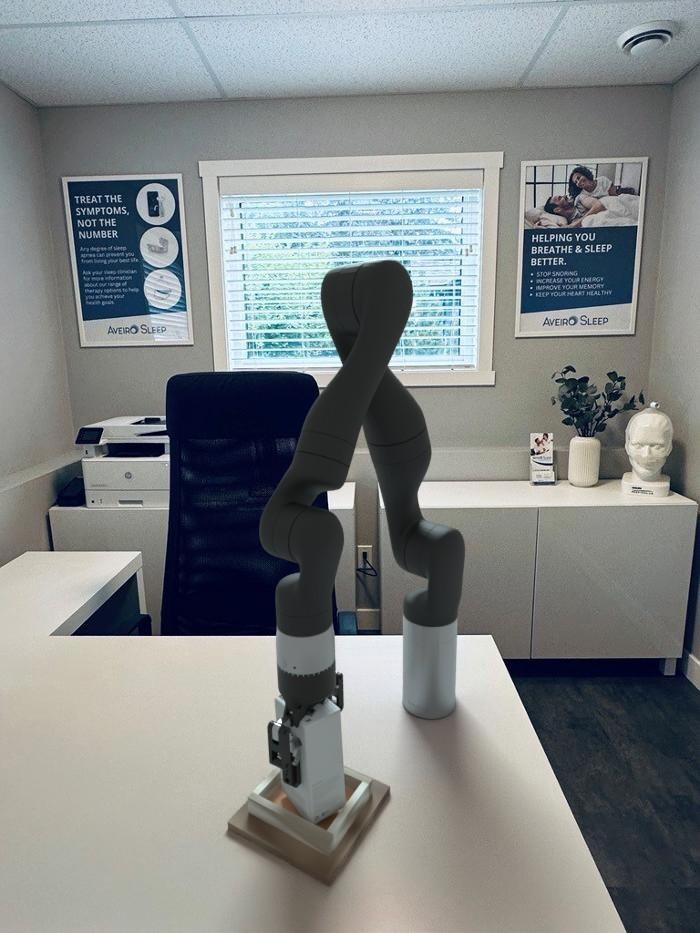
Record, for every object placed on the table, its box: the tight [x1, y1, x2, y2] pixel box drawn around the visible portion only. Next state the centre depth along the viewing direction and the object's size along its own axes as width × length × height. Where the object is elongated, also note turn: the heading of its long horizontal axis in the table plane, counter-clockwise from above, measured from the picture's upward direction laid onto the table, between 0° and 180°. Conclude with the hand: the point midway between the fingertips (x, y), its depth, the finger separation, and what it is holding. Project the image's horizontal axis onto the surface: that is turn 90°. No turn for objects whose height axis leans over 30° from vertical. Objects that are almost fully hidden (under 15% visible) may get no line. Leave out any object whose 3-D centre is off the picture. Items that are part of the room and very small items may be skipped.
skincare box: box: [274, 694, 346, 824], centre depth 74 cm, size 8×6×15 cm
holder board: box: [227, 765, 391, 887], centre depth 75 cm, size 16×16×4 cm
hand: (310, 763), depth 74 cm, fingers open, 7 cm apart
